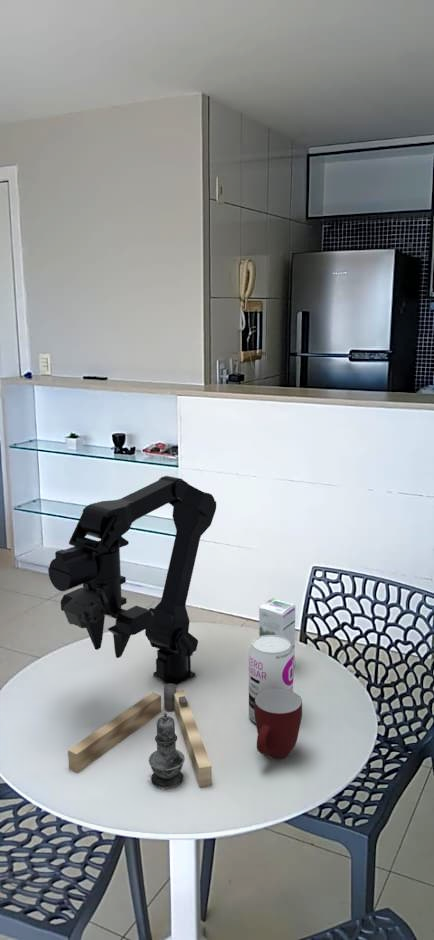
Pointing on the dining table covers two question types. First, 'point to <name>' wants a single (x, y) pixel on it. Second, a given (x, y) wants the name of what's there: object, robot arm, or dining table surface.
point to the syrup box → (278, 620)
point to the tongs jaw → (113, 732)
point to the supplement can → (269, 666)
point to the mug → (277, 721)
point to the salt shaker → (166, 756)
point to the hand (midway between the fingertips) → (108, 653)
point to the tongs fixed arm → (189, 733)
